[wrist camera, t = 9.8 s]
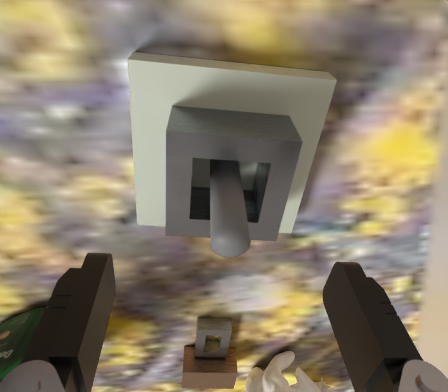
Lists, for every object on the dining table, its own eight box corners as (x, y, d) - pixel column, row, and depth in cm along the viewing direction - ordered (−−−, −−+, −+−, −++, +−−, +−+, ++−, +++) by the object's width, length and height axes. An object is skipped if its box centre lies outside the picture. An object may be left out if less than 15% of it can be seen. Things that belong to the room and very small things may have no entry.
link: (170, 201, 20) (165, 235, 18) (172, 105, 17) (166, 130, 14) (268, 207, 21) (276, 240, 18) (289, 115, 17) (302, 141, 15)
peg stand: (141, 210, 22) (113, 314, 16) (133, 51, 16) (84, 113, 10) (286, 218, 23) (317, 320, 17) (328, 71, 17) (399, 140, 11)
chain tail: (183, 362, 34) (181, 388, 32) (186, 317, 29) (184, 343, 27) (232, 363, 34) (233, 388, 32) (242, 318, 30) (244, 345, 28)
